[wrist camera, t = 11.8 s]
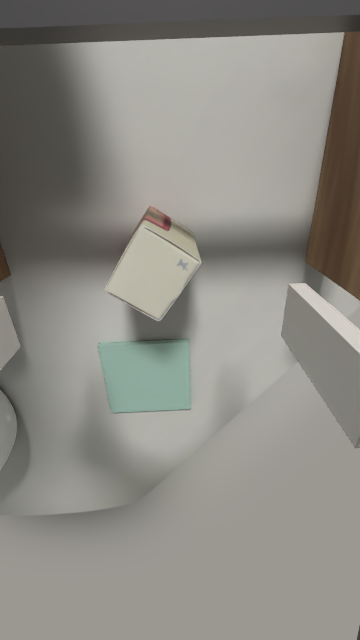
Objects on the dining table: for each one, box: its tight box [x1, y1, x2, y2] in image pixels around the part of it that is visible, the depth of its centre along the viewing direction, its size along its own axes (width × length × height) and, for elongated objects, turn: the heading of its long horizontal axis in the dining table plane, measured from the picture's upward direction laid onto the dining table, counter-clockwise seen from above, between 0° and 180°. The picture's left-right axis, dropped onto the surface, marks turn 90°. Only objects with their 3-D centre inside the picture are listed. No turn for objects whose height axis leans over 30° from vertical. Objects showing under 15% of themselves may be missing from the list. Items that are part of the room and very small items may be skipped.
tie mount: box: [0, 31, 360, 300], centre depth 17 cm, size 30×16×9 cm, turn 92°
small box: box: [104, 206, 202, 321], centre depth 21 cm, size 5×4×8 cm
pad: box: [98, 339, 191, 413], centre depth 31 cm, size 9×9×1 cm
